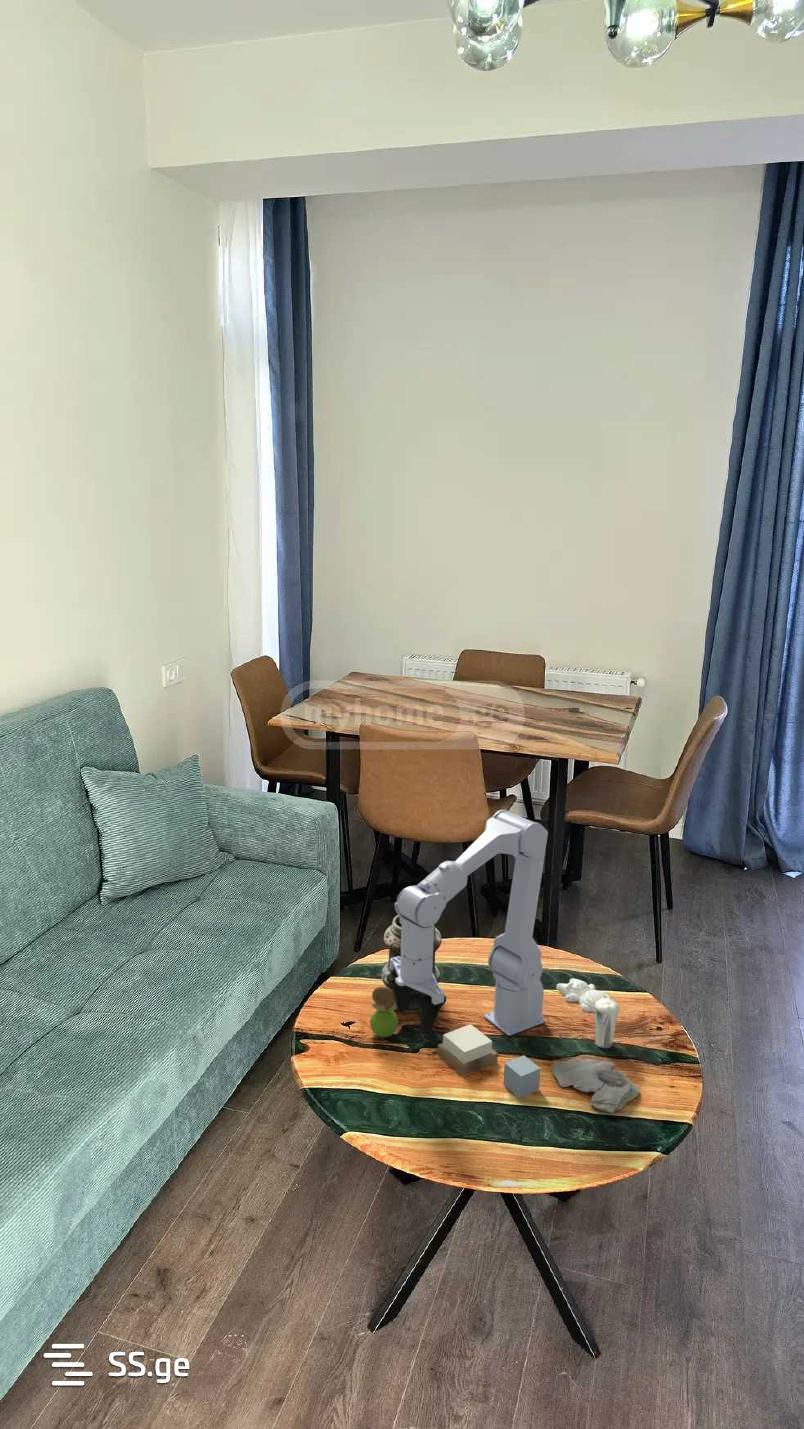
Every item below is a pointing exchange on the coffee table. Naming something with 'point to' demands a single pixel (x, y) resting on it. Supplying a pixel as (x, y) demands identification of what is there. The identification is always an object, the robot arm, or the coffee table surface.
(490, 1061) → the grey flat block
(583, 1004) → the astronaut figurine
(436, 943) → the apothecary jar
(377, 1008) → the snail figurine
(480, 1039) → the cream slab
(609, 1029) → the milkshake
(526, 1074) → the slate block
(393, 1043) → the coffee table surface
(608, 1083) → the fossil
